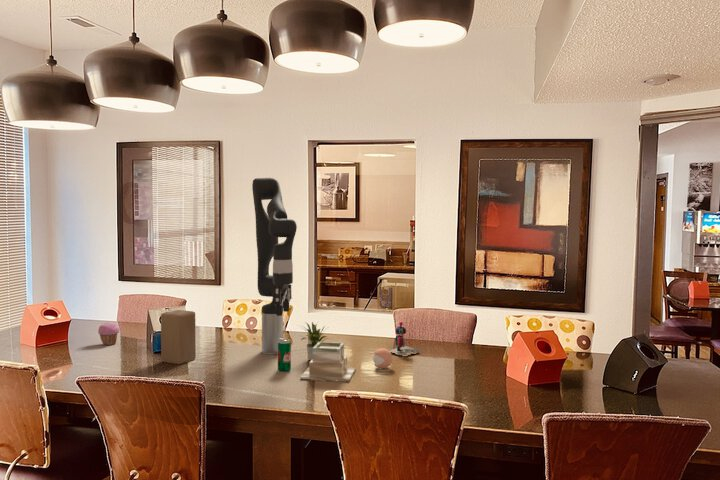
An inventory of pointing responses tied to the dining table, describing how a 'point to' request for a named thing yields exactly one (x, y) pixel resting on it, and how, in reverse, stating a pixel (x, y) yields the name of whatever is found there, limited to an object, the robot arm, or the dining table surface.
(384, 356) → the toy ball
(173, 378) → the dining table surface
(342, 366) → the tower base
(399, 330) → the statue
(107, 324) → the cupcake
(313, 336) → the house plant
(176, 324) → the block
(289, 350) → the soda can
